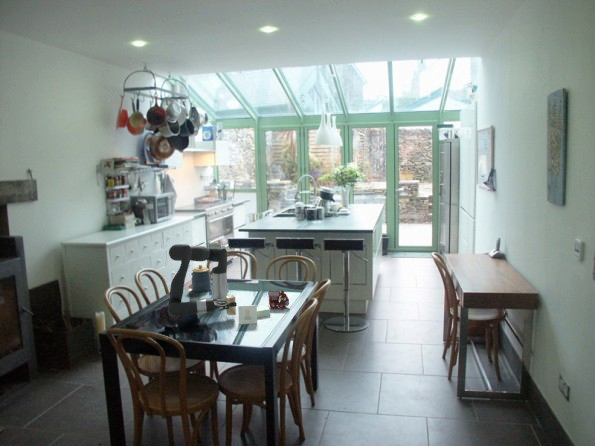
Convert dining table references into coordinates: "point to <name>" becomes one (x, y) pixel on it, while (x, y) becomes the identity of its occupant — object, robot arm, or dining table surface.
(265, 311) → the base brick
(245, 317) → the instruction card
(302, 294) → the dining table surface
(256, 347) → the dining table surface
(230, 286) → the dining table surface
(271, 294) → the toy fire truck
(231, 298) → the column
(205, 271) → the canister
